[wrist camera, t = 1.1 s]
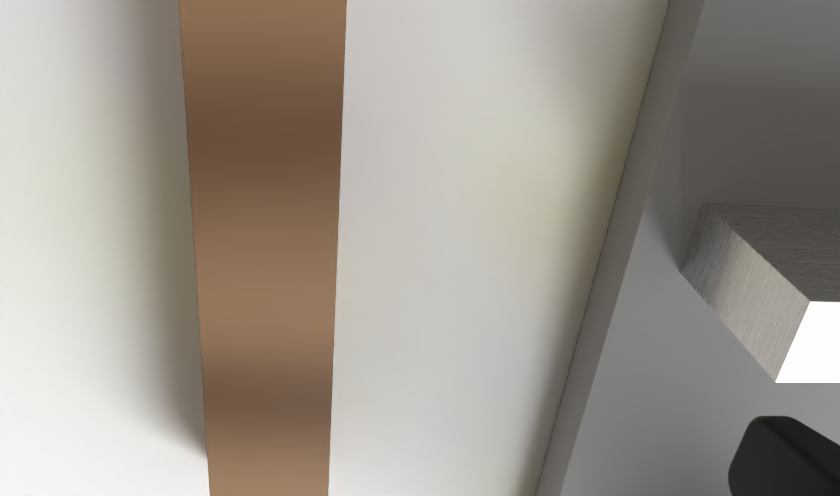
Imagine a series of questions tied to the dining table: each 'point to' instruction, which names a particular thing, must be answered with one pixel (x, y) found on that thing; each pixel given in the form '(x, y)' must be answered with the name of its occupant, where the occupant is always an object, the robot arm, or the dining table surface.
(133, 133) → the dining table surface
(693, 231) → the stand
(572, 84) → the dining table surface
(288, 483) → the walnut bar
